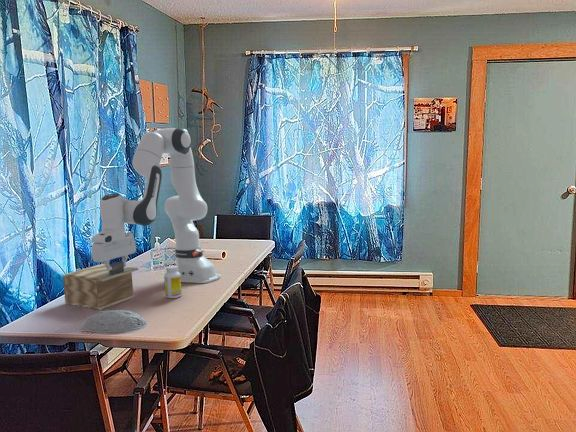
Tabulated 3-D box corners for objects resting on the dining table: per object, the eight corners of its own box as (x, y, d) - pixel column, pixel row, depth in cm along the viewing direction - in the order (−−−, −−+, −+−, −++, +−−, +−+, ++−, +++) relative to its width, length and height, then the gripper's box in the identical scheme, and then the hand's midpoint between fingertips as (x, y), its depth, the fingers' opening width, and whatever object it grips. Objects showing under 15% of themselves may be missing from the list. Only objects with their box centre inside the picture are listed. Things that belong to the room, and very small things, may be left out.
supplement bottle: (184, 294, 227) (182, 265, 225) (176, 299, 221) (174, 269, 219) (170, 293, 229) (169, 264, 228) (162, 298, 223) (160, 268, 221)
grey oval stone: (138, 333, 182) (136, 314, 182) (71, 334, 186) (70, 315, 186) (157, 322, 197) (156, 304, 197) (95, 324, 202) (94, 306, 201)
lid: (138, 270, 222) (137, 258, 222) (103, 281, 206) (102, 269, 205) (102, 265, 232) (101, 254, 232) (65, 276, 216) (64, 264, 215)
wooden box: (133, 297, 225) (131, 269, 224) (100, 310, 210) (97, 280, 208) (99, 292, 235) (97, 265, 233) (65, 303, 219) (62, 275, 217)
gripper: (127, 230, 224) (129, 262, 226) (87, 238, 206) (90, 273, 208) (138, 231, 221) (140, 263, 223) (99, 239, 203) (102, 275, 205)
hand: (116, 268), depth 215 cm, fingers closed on lid, 6 cm apart
